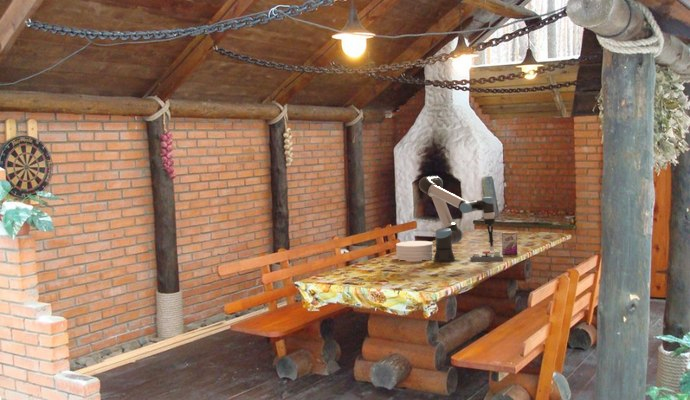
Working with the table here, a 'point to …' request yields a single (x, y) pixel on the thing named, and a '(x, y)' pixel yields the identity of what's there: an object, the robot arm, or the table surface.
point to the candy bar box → (509, 242)
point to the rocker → (485, 252)
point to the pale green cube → (497, 253)
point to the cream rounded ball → (475, 254)
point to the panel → (486, 258)
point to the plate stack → (414, 250)
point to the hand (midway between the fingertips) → (492, 250)
